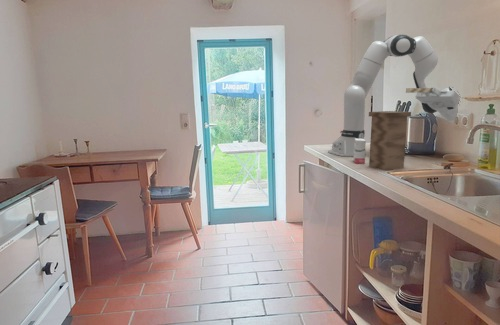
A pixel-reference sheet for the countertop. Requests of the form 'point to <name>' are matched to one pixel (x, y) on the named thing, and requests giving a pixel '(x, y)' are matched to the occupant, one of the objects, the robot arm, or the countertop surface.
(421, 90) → the stick
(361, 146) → the ink box
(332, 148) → the robot arm
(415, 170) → the countertop surface
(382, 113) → the wooden canister
